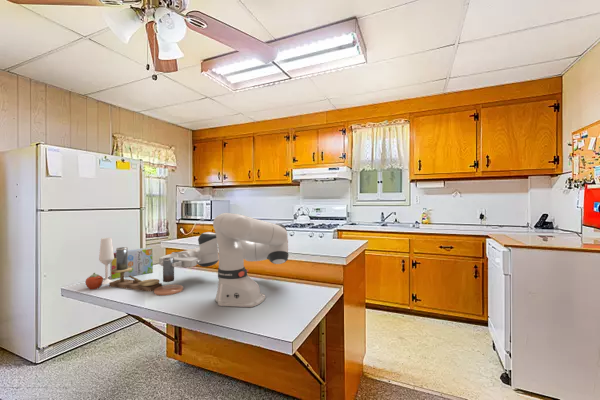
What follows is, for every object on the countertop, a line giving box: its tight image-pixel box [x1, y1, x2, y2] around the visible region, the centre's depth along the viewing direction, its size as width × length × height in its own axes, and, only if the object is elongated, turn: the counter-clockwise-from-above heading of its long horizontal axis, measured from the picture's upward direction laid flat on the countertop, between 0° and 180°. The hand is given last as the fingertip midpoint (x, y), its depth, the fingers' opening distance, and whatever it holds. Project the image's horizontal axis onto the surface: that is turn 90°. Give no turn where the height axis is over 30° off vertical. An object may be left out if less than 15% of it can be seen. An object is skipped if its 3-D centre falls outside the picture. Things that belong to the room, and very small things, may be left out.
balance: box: [108, 267, 163, 292], centre depth 147 cm, size 27×9×8 cm, turn 73°
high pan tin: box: [115, 246, 129, 270], centre depth 150 cm, size 5×5×11 cm
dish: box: [153, 283, 184, 296], centre depth 141 cm, size 13×13×1 cm
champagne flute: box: [98, 237, 114, 285], centre depth 154 cm, size 7×7×24 cm
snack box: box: [109, 247, 154, 280], centre depth 169 cm, size 21×6×15 cm, turn 130°
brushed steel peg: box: [162, 257, 175, 283], centre depth 141 cm, size 5×5×11 cm
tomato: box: [84, 272, 104, 290], centre depth 145 cm, size 7×7×8 cm
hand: (167, 264), depth 140 cm, fingers closed on brushed steel peg, 5 cm apart
